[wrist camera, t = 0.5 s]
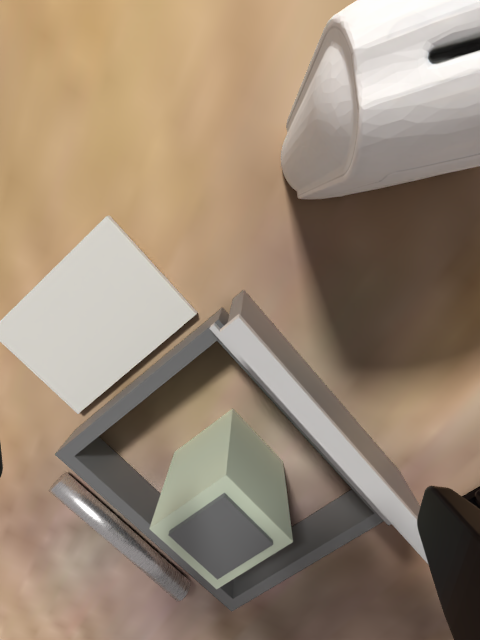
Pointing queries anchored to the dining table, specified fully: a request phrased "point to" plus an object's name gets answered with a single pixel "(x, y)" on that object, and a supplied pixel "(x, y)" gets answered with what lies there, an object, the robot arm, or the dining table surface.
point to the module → (224, 501)
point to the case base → (141, 498)
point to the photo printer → (387, 98)
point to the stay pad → (94, 316)
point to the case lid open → (321, 414)
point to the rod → (120, 536)
